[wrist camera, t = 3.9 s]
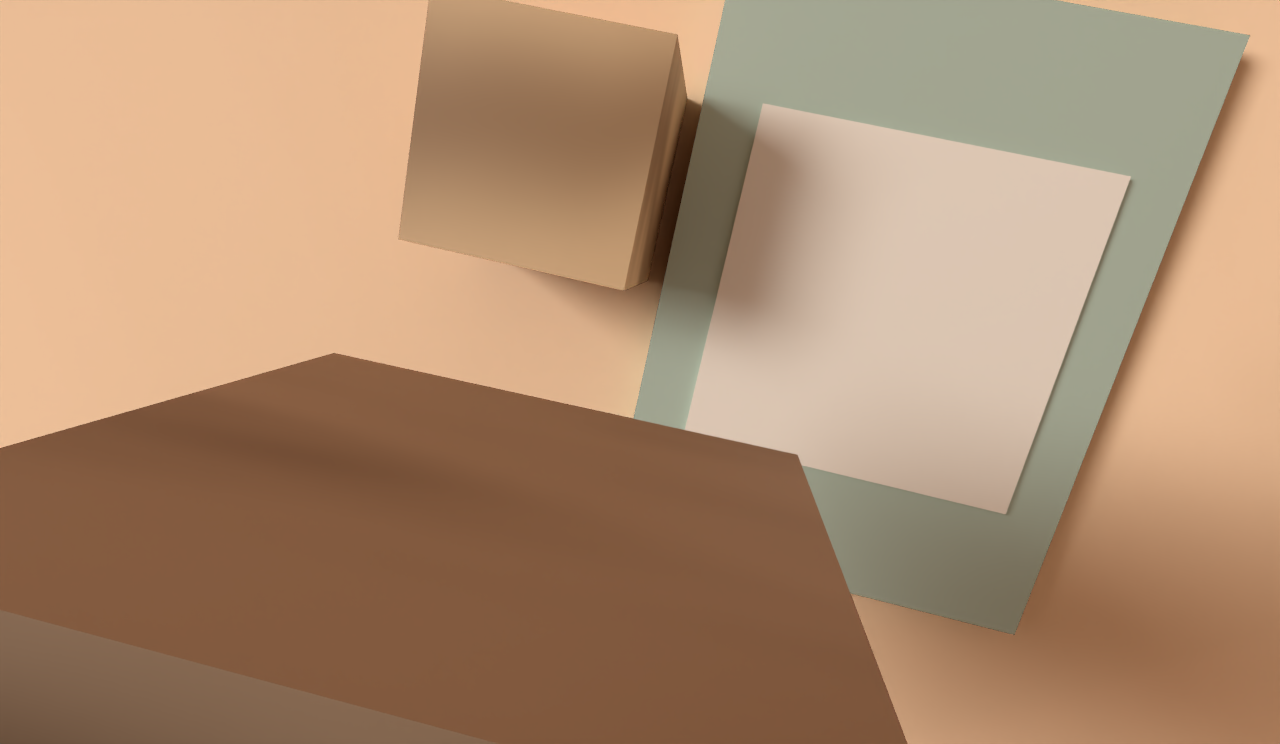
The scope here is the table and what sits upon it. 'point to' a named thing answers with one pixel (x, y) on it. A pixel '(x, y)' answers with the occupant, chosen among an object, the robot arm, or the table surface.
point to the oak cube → (543, 139)
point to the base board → (928, 264)
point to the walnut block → (418, 576)
